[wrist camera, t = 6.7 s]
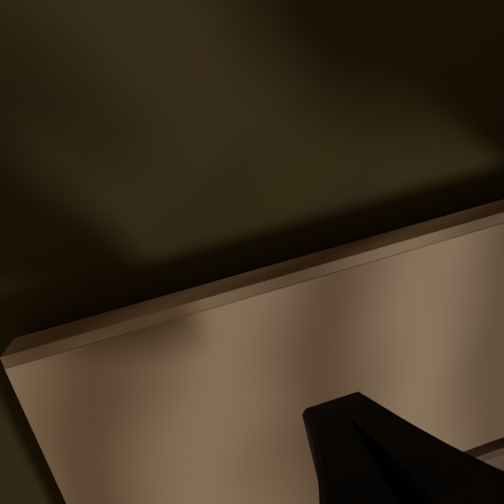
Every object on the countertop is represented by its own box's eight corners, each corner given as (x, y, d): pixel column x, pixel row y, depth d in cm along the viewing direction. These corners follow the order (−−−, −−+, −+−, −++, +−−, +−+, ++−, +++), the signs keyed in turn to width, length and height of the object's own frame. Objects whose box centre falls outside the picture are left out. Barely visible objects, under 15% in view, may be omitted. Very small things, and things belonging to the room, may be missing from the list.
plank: (554, 184, 15) (586, 188, 14) (557, 389, 17) (586, 407, 16) (14, 338, 12) (-1, 357, 11) (106, 547, 15) (102, 582, 14)
